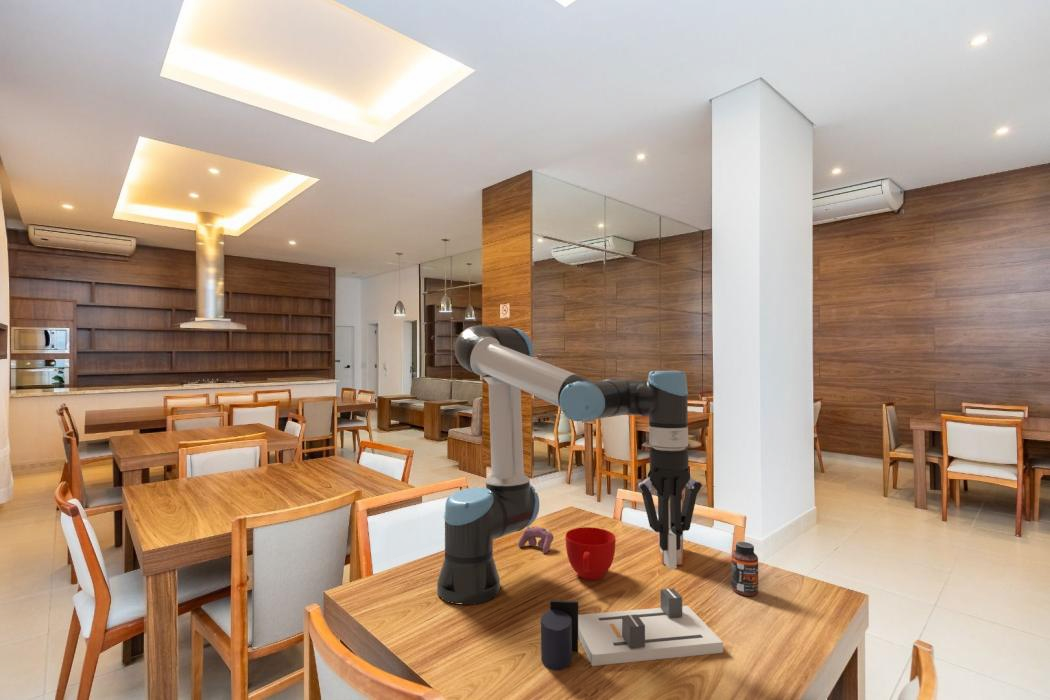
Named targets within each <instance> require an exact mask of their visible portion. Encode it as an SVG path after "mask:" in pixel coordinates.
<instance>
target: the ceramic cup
mask: <svg viewBox="0 0 1050 700" xmlns="http://www.w3.org/2000/svg"><path fill="white" fill-rule="evenodd" d="M565 550H566V555H567V559H568V561H569V564H570V566H571V567H572V569H573V570H574V571H575V573H576V574H577V575H578V577H580V578H582V579H585V580H589V581H590V580H592V581H595V580H599V579H602V578H604V575H605V574H606V573H607V572H608V571H609V569H610V568H611V567H612V564H613V562H614V557H615V551H616V536H615V534H614V533H612V532H611V531H610V530H606V529H604V528H603V529H602V528H599V527H592V526H591V527H588V526H586V527H577V528H573V529H570V530H568V531H567V532H566V533H565Z"/></svg>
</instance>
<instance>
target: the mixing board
mask: <svg viewBox="0 0 1050 700" xmlns="http://www.w3.org/2000/svg"><path fill="white" fill-rule="evenodd" d="M636 614H637V615H638V617H639V618H640V619H641V621H642V622H643V623H644V625H645V647H640V648H629V646H628V645H627V643H626V642H625V640H624V638H623V637H622V616H624V615H636ZM578 640H579V641H580V643H581V645H582V649H583V650H584V652H585V654H586V656H587V658H588V660H589V663H590V665H591V666H592V667H594V666H596V667H597V666H604V665H605V666H606V665H613V664H623V663H634V662H635V663H636V662H643V661H645V662H646V661H654V660H665V659H675V658H685V657H694V656H703V655H713V654H722V653H724V641H723V640H722V639H721V638H720V637H719V636H718V635H717V634H716V633H715V632H714V631H713V630H712V629H711V628H710V627H709V626H708V624H706V623H705V622H704V621H703V620H702V619H701V618H700V616H698V615H697V614H696V613H695V612H694V610H692V609H691V608H690V606H688V605H682V617H673V618H669V617H668V616H667V615H666V614H665V613H664V612H663V610H662V609H661V607H655V608H644V609H642V608H641V609H632V610H631V609H630V610H619V611H618V610H617V611H608V612H607V611H606V612H595V613H582V614H578Z"/></svg>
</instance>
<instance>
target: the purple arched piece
mask: <svg viewBox="0 0 1050 700" xmlns="http://www.w3.org/2000/svg"><path fill="white" fill-rule="evenodd" d="M536 538H537V539H539V540H538V542H537V539H536ZM553 541H554V535H553V533H552V532H551V531H549V530H548V529H546V528H544V527H540V526H527V527H526V528H524V531H523V532H522V534H521V536H520V538H519V540H518V544H517V545H518V546H517V547H518V548H519V547H521V548H523V547H524V546H525V545H526V543H527V542H528V545H529V546H531V547H536V545H537V547H538V548H539V549H542V552H543V554H547V553H548V552H549V550H550V548H551V546H552V543H553ZM522 546H523V547H522Z"/></svg>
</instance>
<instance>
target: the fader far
mask: <svg viewBox="0 0 1050 700" xmlns="http://www.w3.org/2000/svg"><path fill="white" fill-rule="evenodd" d="M682 606H683V596H682V595H681V594H679V592H677V590H676V589H675V588H663V589H660V608H661V609H662V610H663V612H664V613H665V614H666V615H667V616H668V617H669V618H673V617H682Z"/></svg>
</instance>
